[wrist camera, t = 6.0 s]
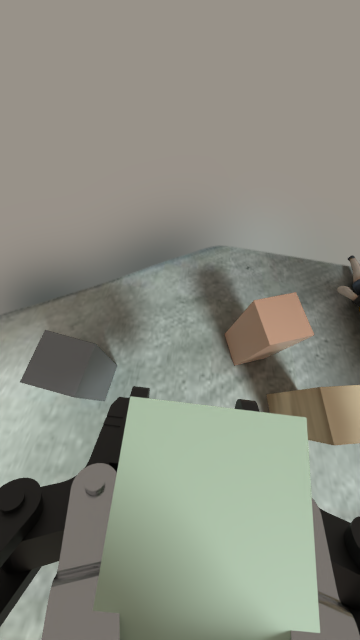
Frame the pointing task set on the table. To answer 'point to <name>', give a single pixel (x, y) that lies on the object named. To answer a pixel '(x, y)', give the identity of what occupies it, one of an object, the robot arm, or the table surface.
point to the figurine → (357, 285)
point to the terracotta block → (267, 328)
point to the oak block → (323, 412)
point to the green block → (210, 526)
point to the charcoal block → (70, 367)
